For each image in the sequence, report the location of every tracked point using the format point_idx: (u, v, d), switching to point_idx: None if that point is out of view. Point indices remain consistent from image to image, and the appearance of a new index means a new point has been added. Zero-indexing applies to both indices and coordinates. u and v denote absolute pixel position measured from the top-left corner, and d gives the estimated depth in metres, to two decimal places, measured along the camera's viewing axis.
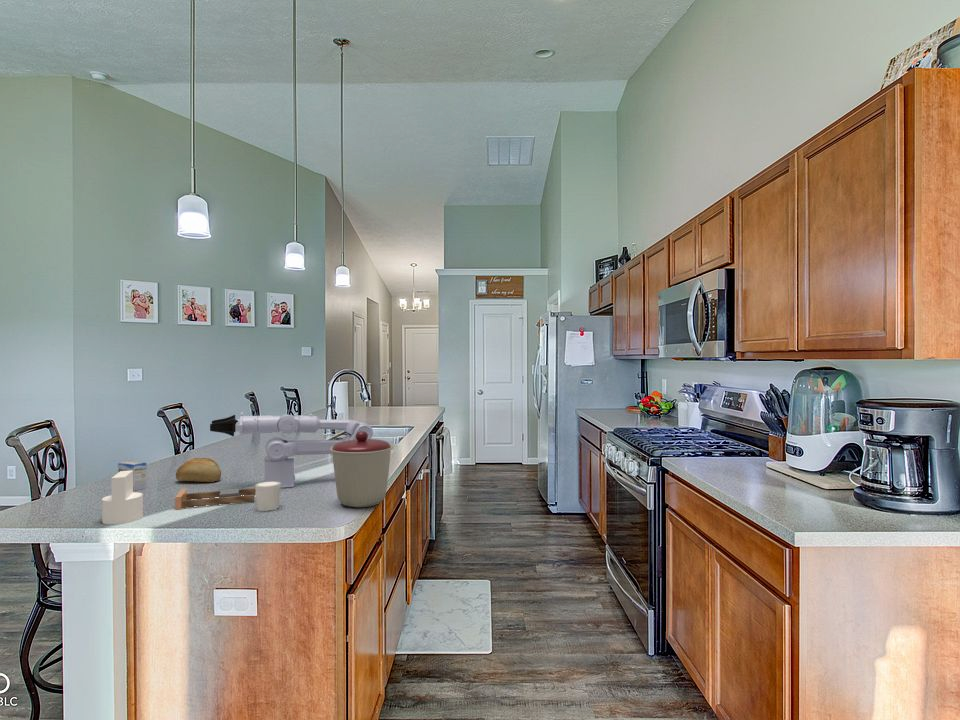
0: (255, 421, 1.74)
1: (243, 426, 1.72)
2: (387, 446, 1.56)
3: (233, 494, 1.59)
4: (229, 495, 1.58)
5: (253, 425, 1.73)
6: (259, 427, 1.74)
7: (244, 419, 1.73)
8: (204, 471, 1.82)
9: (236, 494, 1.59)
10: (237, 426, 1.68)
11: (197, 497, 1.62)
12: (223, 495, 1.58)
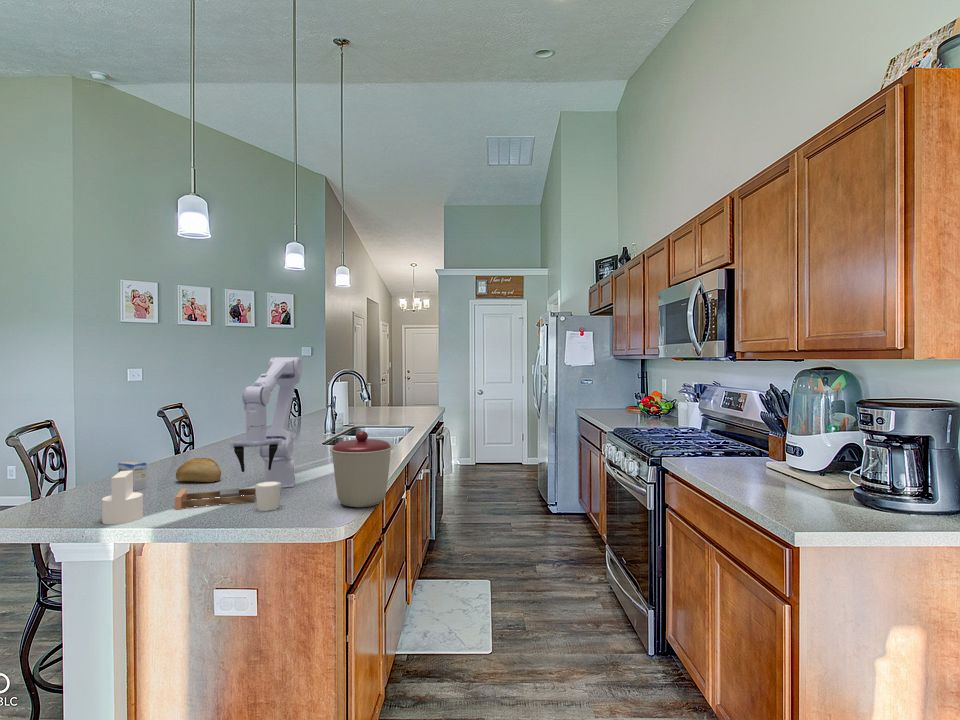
0: (264, 427, 1.63)
1: (266, 438, 1.65)
2: (387, 446, 1.56)
3: (233, 494, 1.59)
4: (229, 495, 1.58)
5: None
6: None
7: (262, 438, 1.62)
8: (204, 471, 1.82)
9: (236, 494, 1.59)
10: (281, 443, 1.66)
11: (197, 497, 1.62)
12: (223, 495, 1.58)
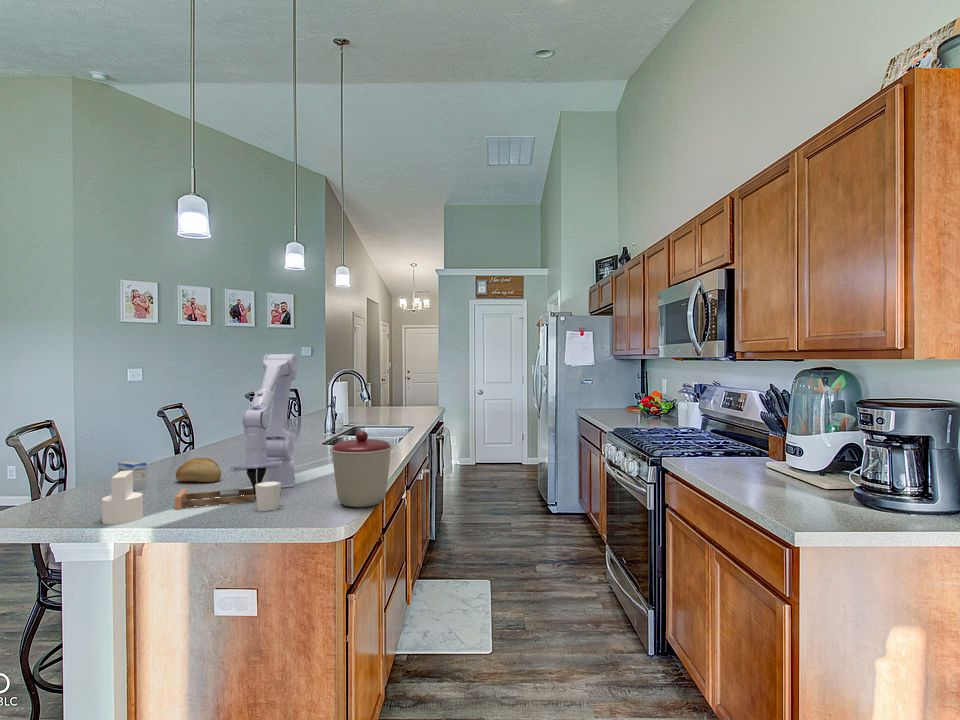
0: (265, 450, 1.63)
1: (266, 461, 1.65)
2: (387, 446, 1.56)
3: (234, 494, 1.59)
4: (229, 495, 1.59)
5: (266, 451, 1.65)
6: (266, 446, 1.64)
7: (263, 462, 1.62)
8: (204, 471, 1.82)
9: (237, 494, 1.59)
10: (281, 466, 1.66)
11: (197, 497, 1.62)
12: (224, 495, 1.58)
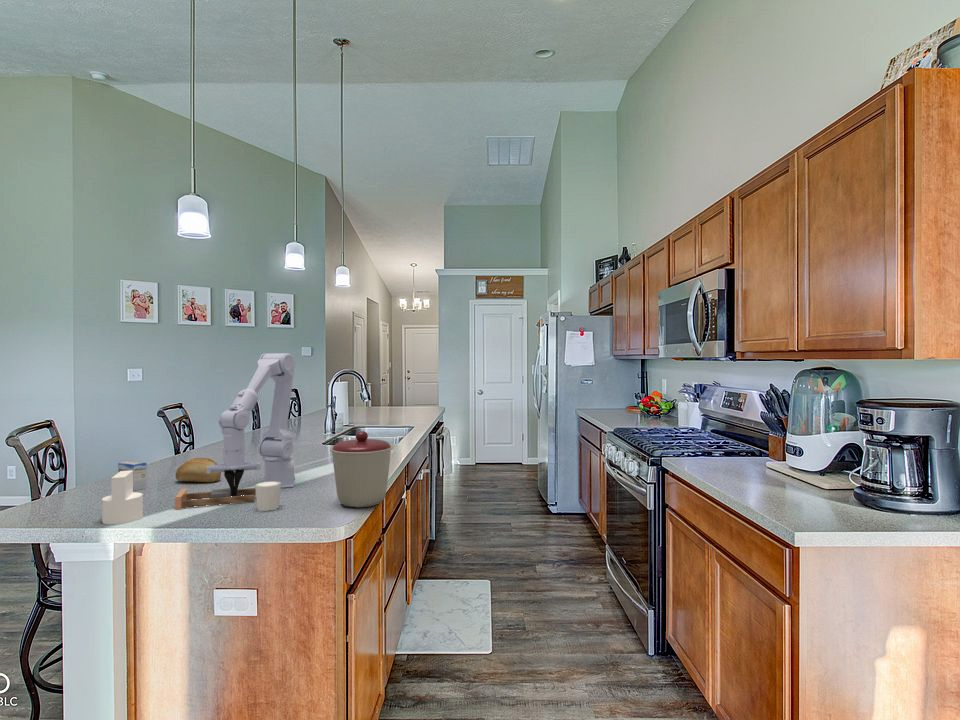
0: (242, 452, 1.61)
1: (244, 462, 1.63)
2: (387, 446, 1.56)
3: (225, 494, 1.58)
4: (220, 495, 1.58)
5: None
6: (243, 447, 1.61)
7: (240, 463, 1.60)
8: (203, 471, 1.82)
9: (228, 494, 1.58)
10: None
11: (197, 497, 1.62)
12: (215, 495, 1.57)
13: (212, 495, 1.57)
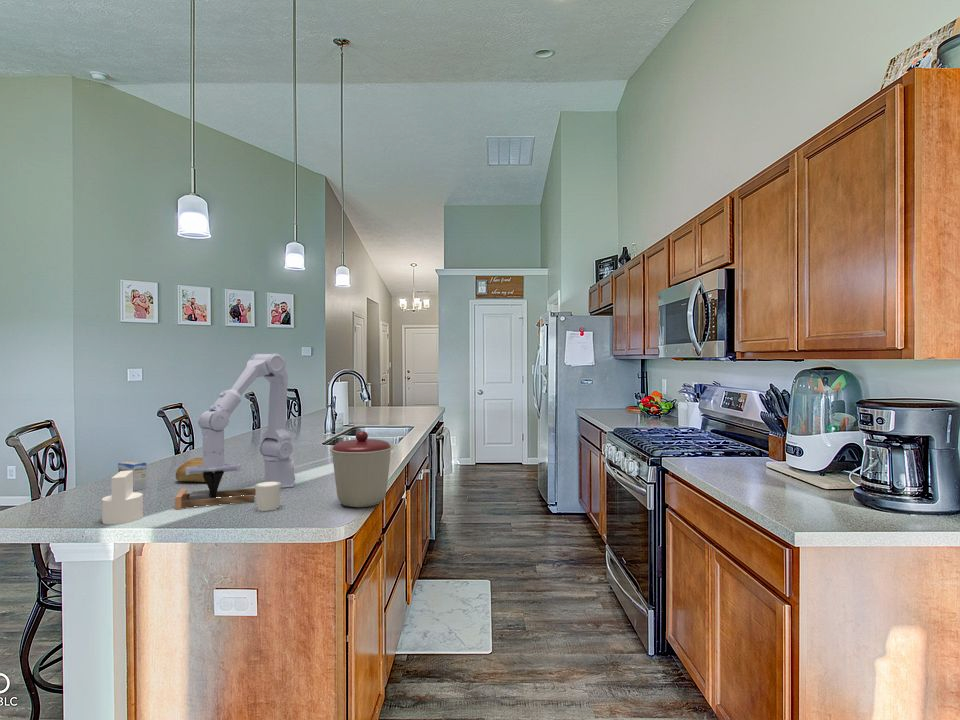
0: (222, 453, 1.59)
1: (224, 464, 1.61)
2: (387, 446, 1.56)
3: (203, 496, 1.56)
4: (199, 497, 1.56)
5: (223, 454, 1.61)
6: (221, 449, 1.59)
7: (220, 465, 1.58)
8: None
9: (206, 496, 1.57)
10: (240, 469, 1.62)
11: None
12: (193, 497, 1.55)
13: (190, 497, 1.55)
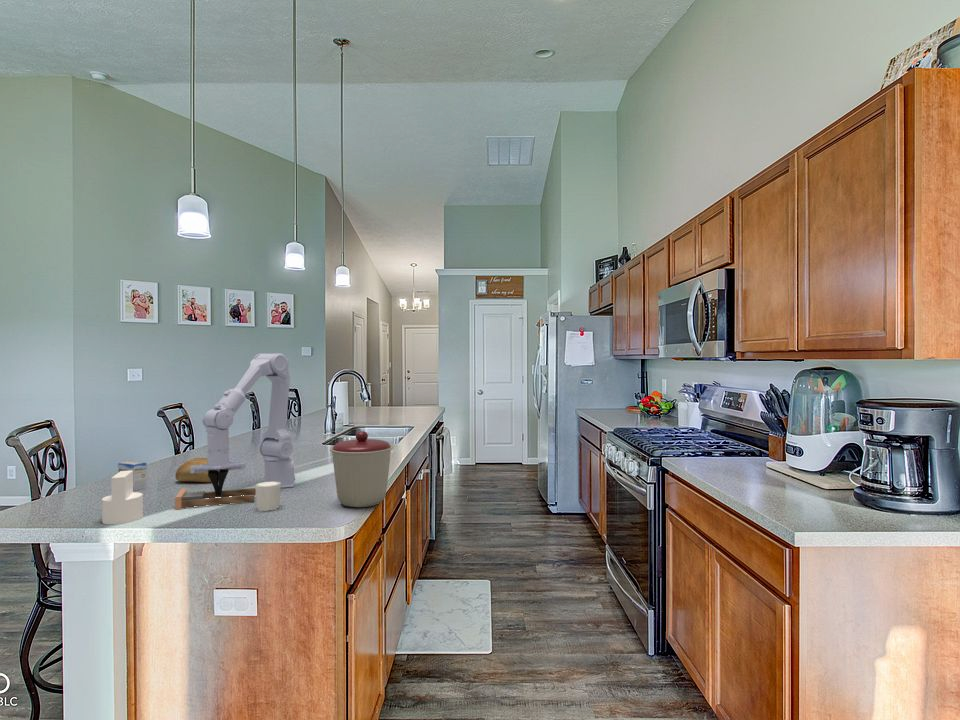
0: (227, 451, 1.60)
1: (228, 462, 1.61)
2: (387, 446, 1.56)
3: (197, 497, 1.56)
4: (193, 498, 1.55)
5: (228, 452, 1.61)
6: (226, 447, 1.59)
7: (224, 463, 1.59)
8: None
9: (200, 497, 1.56)
10: (244, 467, 1.62)
11: None
12: (187, 498, 1.55)
13: (184, 498, 1.55)
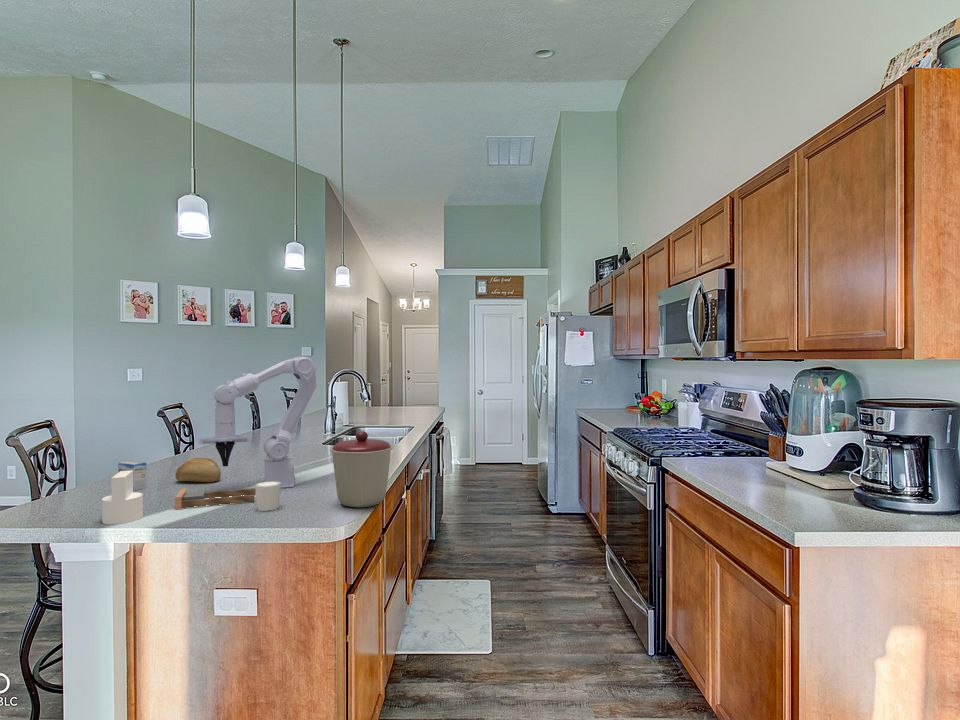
0: (233, 424, 1.70)
1: (235, 435, 1.72)
2: (387, 446, 1.56)
3: (198, 497, 1.56)
4: (193, 498, 1.55)
5: (234, 426, 1.72)
6: (228, 421, 1.69)
7: (231, 435, 1.69)
8: (203, 471, 1.82)
9: (201, 497, 1.56)
10: None
11: None
12: (187, 498, 1.55)
13: (185, 498, 1.55)
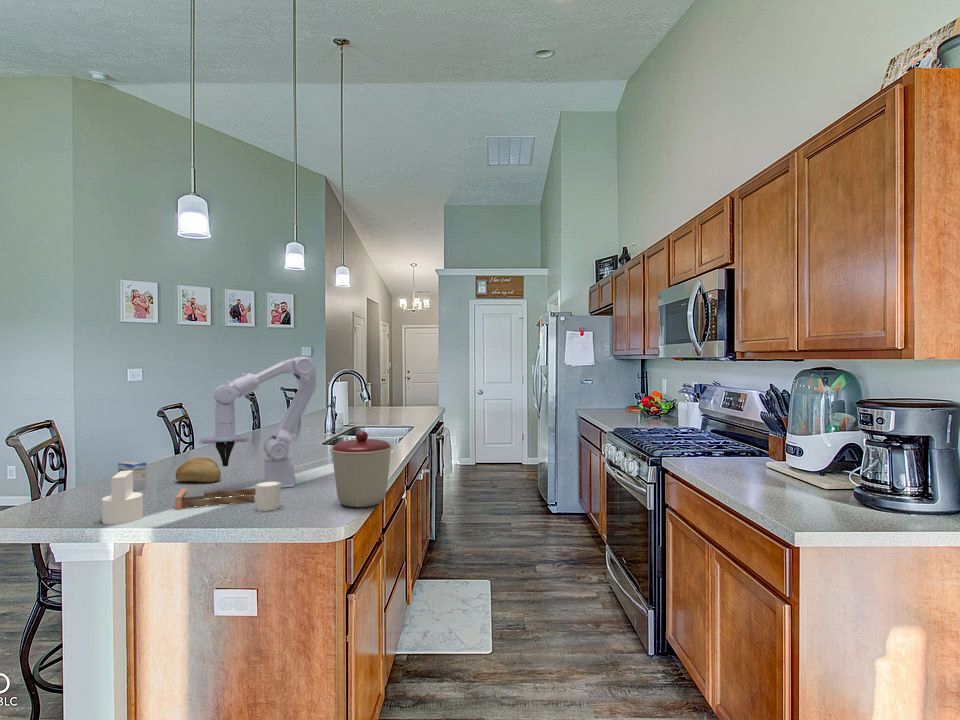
0: (233, 424, 1.70)
1: (235, 435, 1.72)
2: (387, 446, 1.56)
3: (198, 497, 1.56)
4: (193, 498, 1.55)
5: (234, 426, 1.72)
6: (228, 421, 1.69)
7: (231, 435, 1.69)
8: (203, 471, 1.82)
9: (201, 497, 1.56)
10: None
11: None
12: (187, 498, 1.55)
13: (185, 498, 1.55)
